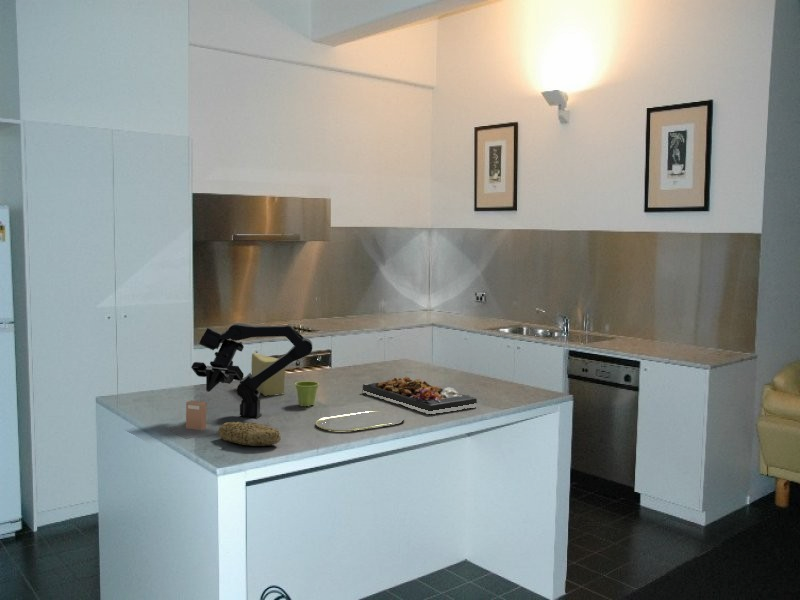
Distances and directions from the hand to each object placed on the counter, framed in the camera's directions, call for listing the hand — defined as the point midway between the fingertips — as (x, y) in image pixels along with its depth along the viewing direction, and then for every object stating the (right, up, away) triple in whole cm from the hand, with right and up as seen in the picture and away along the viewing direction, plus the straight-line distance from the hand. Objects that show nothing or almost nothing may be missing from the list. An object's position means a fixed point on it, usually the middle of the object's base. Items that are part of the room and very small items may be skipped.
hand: (207, 391), depth 258 cm
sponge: (+19, -15, -20) cm, 31 cm away
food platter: (+74, -11, +51) cm, 91 cm away
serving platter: (+53, -14, +10) cm, 56 cm away
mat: (-3, -13, -9) cm, 16 cm away
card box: (-2, -12, -6) cm, 14 cm away
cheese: (+8, -7, +59) cm, 60 cm away
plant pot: (+30, -10, +35) cm, 47 cm away
